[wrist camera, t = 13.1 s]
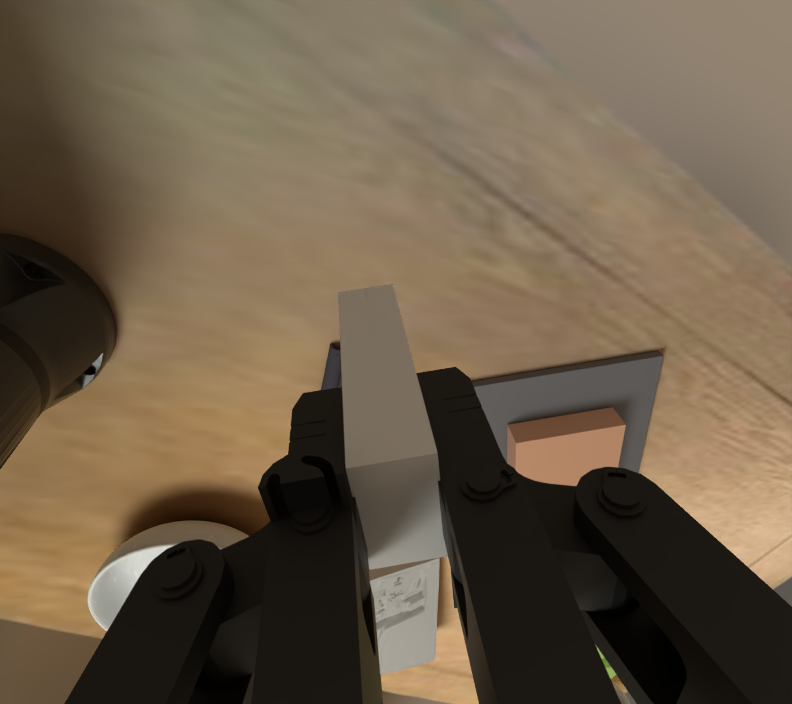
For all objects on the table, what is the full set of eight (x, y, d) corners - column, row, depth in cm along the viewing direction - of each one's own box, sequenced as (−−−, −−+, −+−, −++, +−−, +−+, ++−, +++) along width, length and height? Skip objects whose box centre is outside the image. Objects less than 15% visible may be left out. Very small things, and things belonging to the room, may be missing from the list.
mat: (467, 537, 67) (468, 543, 66) (458, 383, 53) (460, 389, 52) (625, 509, 67) (628, 515, 67) (658, 350, 53) (663, 355, 53)
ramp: (381, 535, 65) (385, 572, 61) (483, 554, 70) (494, 590, 65) (311, 647, 78) (310, 685, 73) (401, 657, 82) (406, 693, 78)
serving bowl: (314, 566, 66) (313, 616, 61) (182, 618, 69) (169, 671, 63) (222, 471, 55) (210, 521, 50) (69, 537, 58) (41, 592, 52)
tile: (506, 423, 55) (505, 516, 64) (516, 443, 52) (513, 538, 61) (611, 405, 55) (596, 501, 64) (625, 424, 53) (607, 521, 61)
